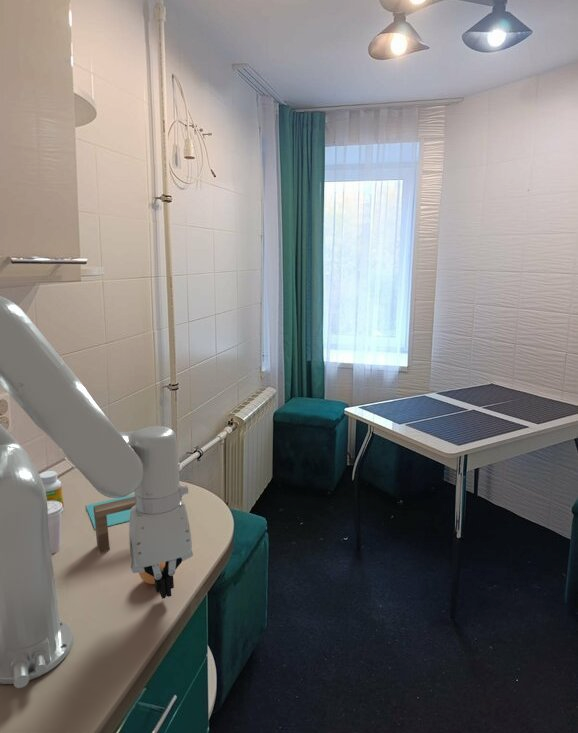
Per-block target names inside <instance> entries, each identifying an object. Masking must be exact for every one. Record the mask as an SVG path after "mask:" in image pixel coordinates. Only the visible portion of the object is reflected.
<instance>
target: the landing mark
mask: <svg viewBox="0 0 578 733" xmlns="http://www.w3.org/2000/svg"><path fill="white" fill-rule="evenodd" d="M130 497H135V493H134V494H129V495H127V496H125V497H121V498H111V499H108V500H104V501H99V502H95V503H92V504H87V505H85V508H86V511H87V513H88V515H89V518H90V521H91V523H92V525H93V528H94V530H95V531H96V528H95V518H94V508H93V506H96V505H100V504H105V503H109V502H113V501H117V500H122V499H126V498H130ZM130 512H131V509H129V510H125V511H121V512H117V513H113V514H109V515H107V526H108V528H109V527H112V526H116V525H120V524H123V523H128V522H130Z"/></svg>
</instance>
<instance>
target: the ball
mask: <svg viewBox="0 0 578 733" xmlns="http://www.w3.org/2000/svg"><path fill="white" fill-rule="evenodd" d="M159 566H160V569H161V571H162V570H163V568H164V567H165V562H163V563H159ZM138 575H139V577H140V579H141V580H142V581H143V582H144V583H146V584H148V585H155V580H154V577H153V576H152V575H150V574H148V573H146V572H141V573H138Z"/></svg>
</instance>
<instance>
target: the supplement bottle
mask: <svg viewBox="0 0 578 733" xmlns="http://www.w3.org/2000/svg"><path fill="white" fill-rule="evenodd" d="M39 475H40V477H41V479H42V482H43V485H44V488H45V492H46V497H47V501H58V502H61V503H62V507H63V510H62V512H63V511H64V510H65V504H64V498H63V497H64V496H63V488H62V487H63V486H62V482H61V480H59V479H58V473H57V472H56V471H55V470H47V471H43V472H40V473H39Z"/></svg>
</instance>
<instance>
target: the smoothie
mask: <svg viewBox="0 0 578 733" xmlns="http://www.w3.org/2000/svg"><path fill="white" fill-rule="evenodd" d="M47 507H48V530H49V540H50V548H51V555H52V554H55V553H57V552H58V551H60V550H61V543H62V542H61V540H62V539H61V538H62V537H61V536H62V512H63V511H64V510H63V507H62V503H61V502H58V501H47ZM62 510H63V511H62Z"/></svg>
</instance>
